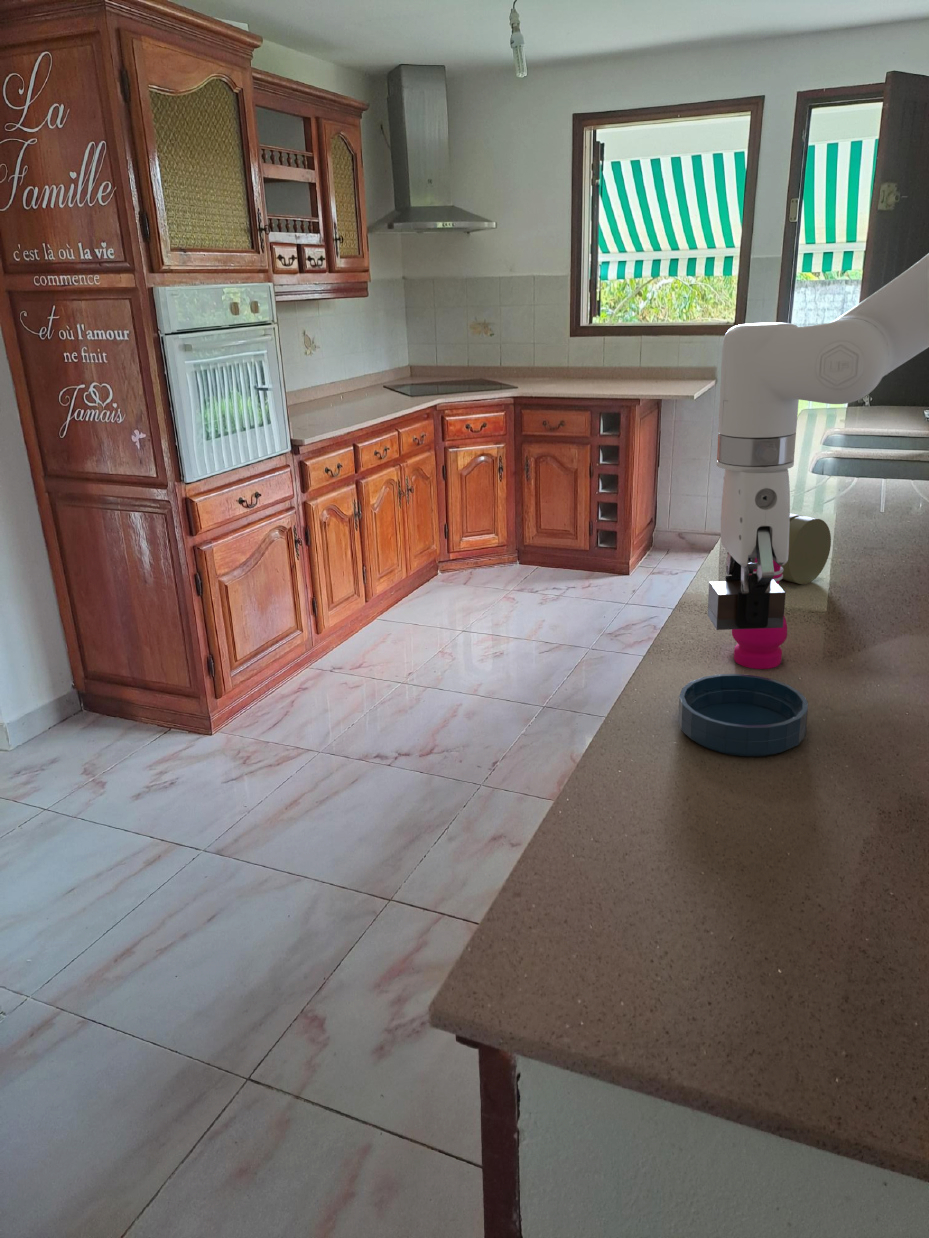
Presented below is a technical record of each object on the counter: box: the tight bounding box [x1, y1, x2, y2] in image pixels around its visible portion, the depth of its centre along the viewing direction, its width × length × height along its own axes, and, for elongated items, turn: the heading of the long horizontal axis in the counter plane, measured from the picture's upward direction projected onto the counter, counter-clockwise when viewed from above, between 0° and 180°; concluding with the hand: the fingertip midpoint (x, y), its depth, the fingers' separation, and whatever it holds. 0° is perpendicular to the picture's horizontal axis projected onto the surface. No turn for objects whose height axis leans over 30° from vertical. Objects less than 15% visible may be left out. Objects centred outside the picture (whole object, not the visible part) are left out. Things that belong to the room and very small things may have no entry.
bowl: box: [677, 673, 809, 757], centre depth 103 cm, size 14×14×4 cm
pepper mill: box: [731, 554, 789, 670], centre depth 118 cm, size 7×7×20 cm
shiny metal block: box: [707, 579, 787, 631], centre depth 95 cm, size 7×4×4 cm, turn 88°
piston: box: [781, 513, 832, 585], centre depth 154 cm, size 11×12×11 cm
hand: (745, 616), depth 96 cm, fingers closed on shiny metal block, 4 cm apart
